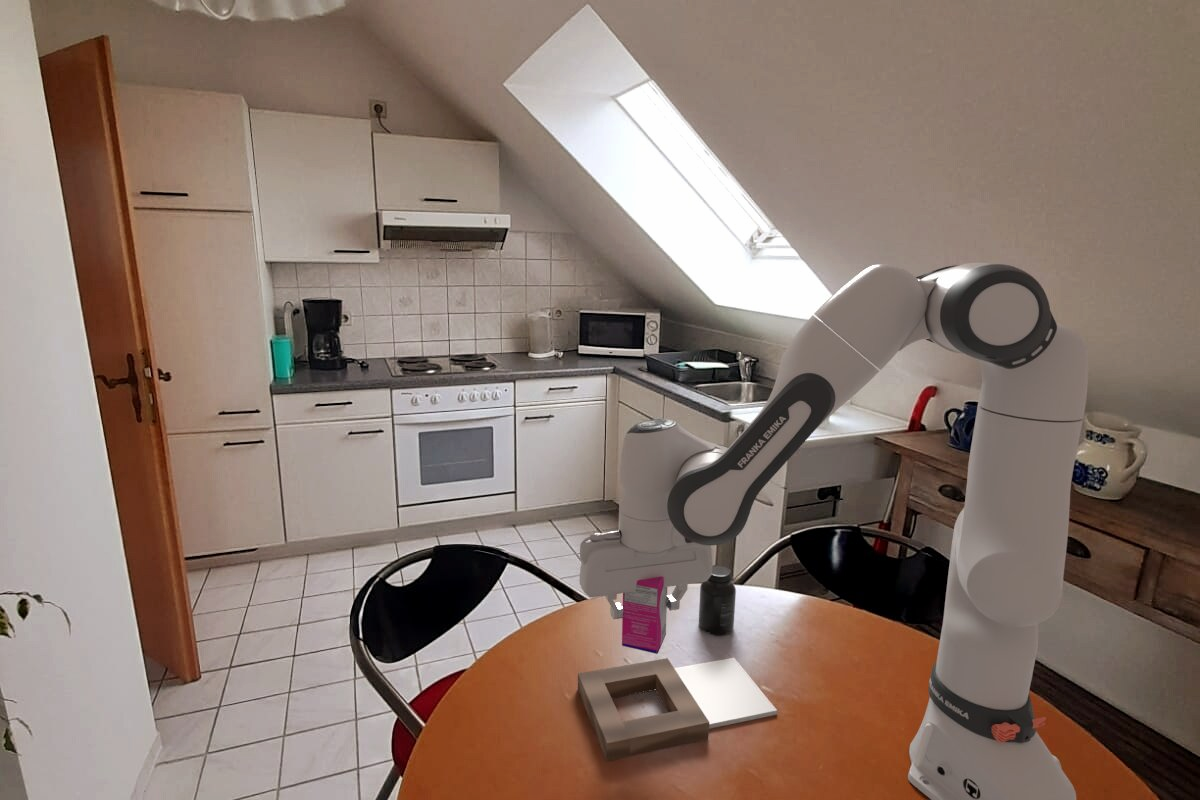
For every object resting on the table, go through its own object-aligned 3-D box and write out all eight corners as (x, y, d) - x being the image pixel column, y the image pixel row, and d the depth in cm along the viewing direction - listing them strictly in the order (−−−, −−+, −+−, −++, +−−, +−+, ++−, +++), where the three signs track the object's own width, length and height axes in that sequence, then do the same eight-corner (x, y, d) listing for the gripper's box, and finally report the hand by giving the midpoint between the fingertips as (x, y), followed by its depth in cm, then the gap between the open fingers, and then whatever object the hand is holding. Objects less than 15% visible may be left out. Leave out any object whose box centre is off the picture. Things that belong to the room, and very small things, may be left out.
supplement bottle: (731, 618, 128) (735, 563, 125) (735, 638, 121) (739, 580, 118) (697, 615, 128) (700, 561, 126) (698, 635, 122) (702, 577, 119)
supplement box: (630, 626, 101) (633, 559, 99) (666, 634, 99) (670, 566, 97) (619, 646, 96) (622, 576, 93) (657, 655, 94) (661, 584, 91)
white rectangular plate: (776, 714, 101) (777, 710, 101) (708, 728, 97) (708, 724, 97) (733, 661, 114) (734, 657, 114) (672, 672, 110) (672, 668, 110)
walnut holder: (708, 739, 95) (709, 722, 94) (606, 761, 90) (607, 743, 90) (666, 673, 110) (667, 658, 109) (577, 689, 105) (577, 673, 105)
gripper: (586, 544, 87) (584, 634, 90) (719, 529, 93) (714, 614, 96) (574, 526, 93) (573, 611, 96) (701, 513, 99) (696, 593, 102)
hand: (645, 612), depth 96 cm, fingers closed on supplement box, 8 cm apart
